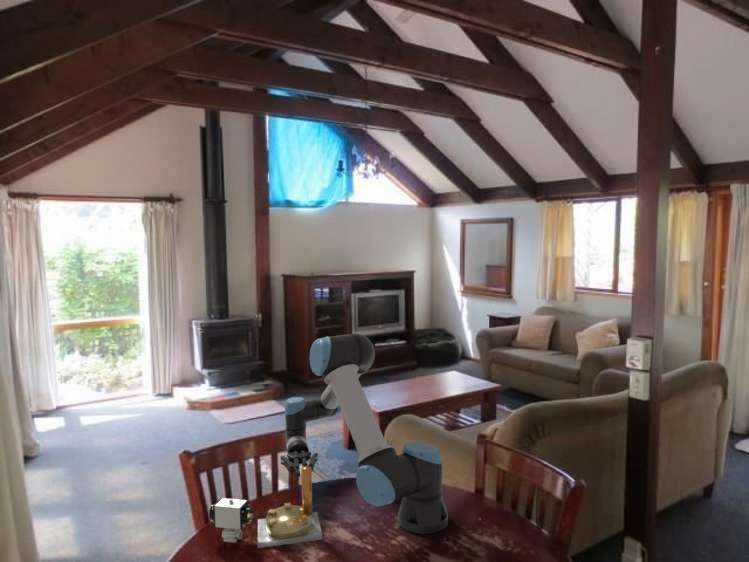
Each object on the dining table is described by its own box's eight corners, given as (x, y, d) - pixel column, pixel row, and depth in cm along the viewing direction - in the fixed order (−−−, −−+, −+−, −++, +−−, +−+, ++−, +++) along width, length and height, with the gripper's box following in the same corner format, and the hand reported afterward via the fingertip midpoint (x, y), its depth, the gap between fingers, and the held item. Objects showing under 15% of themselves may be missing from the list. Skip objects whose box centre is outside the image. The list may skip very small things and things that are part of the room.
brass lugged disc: (310, 512, 161) (309, 458, 160) (315, 534, 148) (313, 476, 147) (266, 517, 158) (264, 463, 157) (266, 541, 145) (264, 481, 144)
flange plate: (317, 516, 161) (317, 512, 161) (322, 539, 149) (322, 534, 149) (257, 524, 157) (257, 519, 157) (257, 548, 145) (257, 542, 145)
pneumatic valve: (247, 546, 146) (246, 504, 145) (209, 542, 148) (208, 501, 147) (256, 535, 151) (254, 495, 150) (219, 532, 153) (217, 492, 153)
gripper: (316, 458, 186) (324, 488, 163) (279, 462, 184) (282, 493, 161) (315, 438, 186) (323, 465, 163) (279, 441, 183) (281, 469, 160)
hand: (303, 478), depth 162 cm, fingers closed
